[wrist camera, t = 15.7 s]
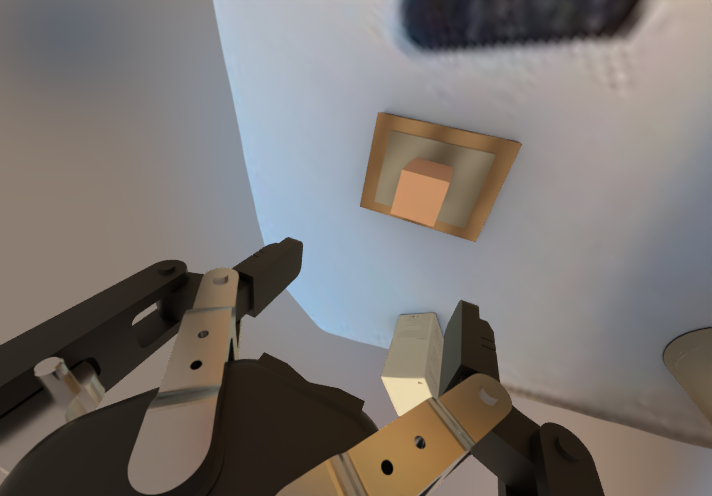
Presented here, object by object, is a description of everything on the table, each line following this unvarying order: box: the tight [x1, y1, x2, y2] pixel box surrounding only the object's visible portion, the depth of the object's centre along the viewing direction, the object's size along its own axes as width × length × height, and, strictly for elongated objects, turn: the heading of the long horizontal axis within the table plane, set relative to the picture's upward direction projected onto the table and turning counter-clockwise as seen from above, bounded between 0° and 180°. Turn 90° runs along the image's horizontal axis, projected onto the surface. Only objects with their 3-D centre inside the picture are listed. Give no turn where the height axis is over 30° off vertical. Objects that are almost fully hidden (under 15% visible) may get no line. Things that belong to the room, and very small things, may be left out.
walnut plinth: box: [360, 113, 522, 242], centre depth 33 cm, size 16×12×3 cm
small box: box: [381, 313, 444, 416], centre depth 41 cm, size 8×6×13 cm
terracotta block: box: [390, 157, 453, 227], centre depth 28 cm, size 4×4×8 cm
